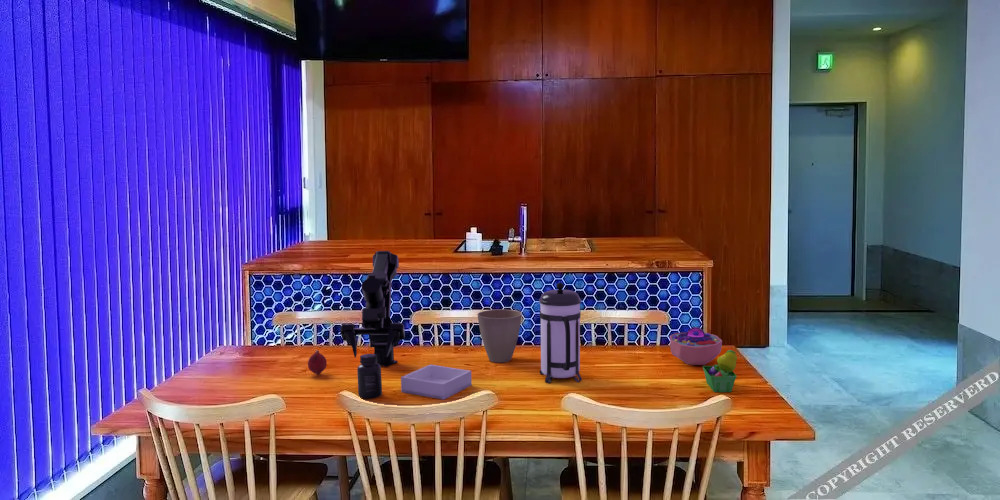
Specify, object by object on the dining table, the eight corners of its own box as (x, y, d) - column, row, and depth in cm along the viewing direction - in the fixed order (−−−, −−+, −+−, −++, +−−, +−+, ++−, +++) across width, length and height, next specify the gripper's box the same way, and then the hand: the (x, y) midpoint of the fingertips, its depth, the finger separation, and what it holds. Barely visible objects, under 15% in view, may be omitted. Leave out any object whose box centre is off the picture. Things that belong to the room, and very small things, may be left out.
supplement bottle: (386, 393, 225) (384, 353, 223) (375, 400, 219) (373, 359, 217) (365, 391, 227) (364, 351, 226) (353, 398, 221) (352, 357, 219)
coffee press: (524, 379, 236) (523, 283, 233) (556, 368, 248) (556, 276, 244) (568, 390, 225) (568, 290, 221) (600, 378, 236) (600, 282, 232)
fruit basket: (701, 381, 232) (702, 345, 230) (730, 381, 231) (731, 345, 230) (710, 393, 220) (711, 355, 219) (741, 393, 220) (742, 355, 219)
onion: (322, 377, 241) (321, 353, 240) (305, 377, 242) (304, 352, 241) (330, 372, 247) (328, 348, 246) (313, 371, 248) (312, 347, 247)
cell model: (663, 368, 246) (664, 334, 244) (674, 353, 264) (674, 321, 263) (718, 374, 239) (718, 338, 238) (724, 357, 258) (725, 324, 256)
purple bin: (430, 378, 239) (430, 364, 238) (471, 385, 231) (471, 370, 231) (401, 391, 226) (400, 377, 225) (443, 399, 218) (443, 384, 218)
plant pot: (531, 360, 257) (530, 314, 255) (494, 368, 249) (493, 320, 247) (505, 351, 269) (505, 307, 267) (469, 358, 261) (468, 312, 259)
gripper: (339, 297, 228) (334, 342, 219) (402, 296, 229) (400, 341, 219) (345, 318, 237) (340, 362, 228) (405, 316, 238) (403, 360, 228)
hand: (370, 356), depth 225 cm, fingers open, 9 cm apart
